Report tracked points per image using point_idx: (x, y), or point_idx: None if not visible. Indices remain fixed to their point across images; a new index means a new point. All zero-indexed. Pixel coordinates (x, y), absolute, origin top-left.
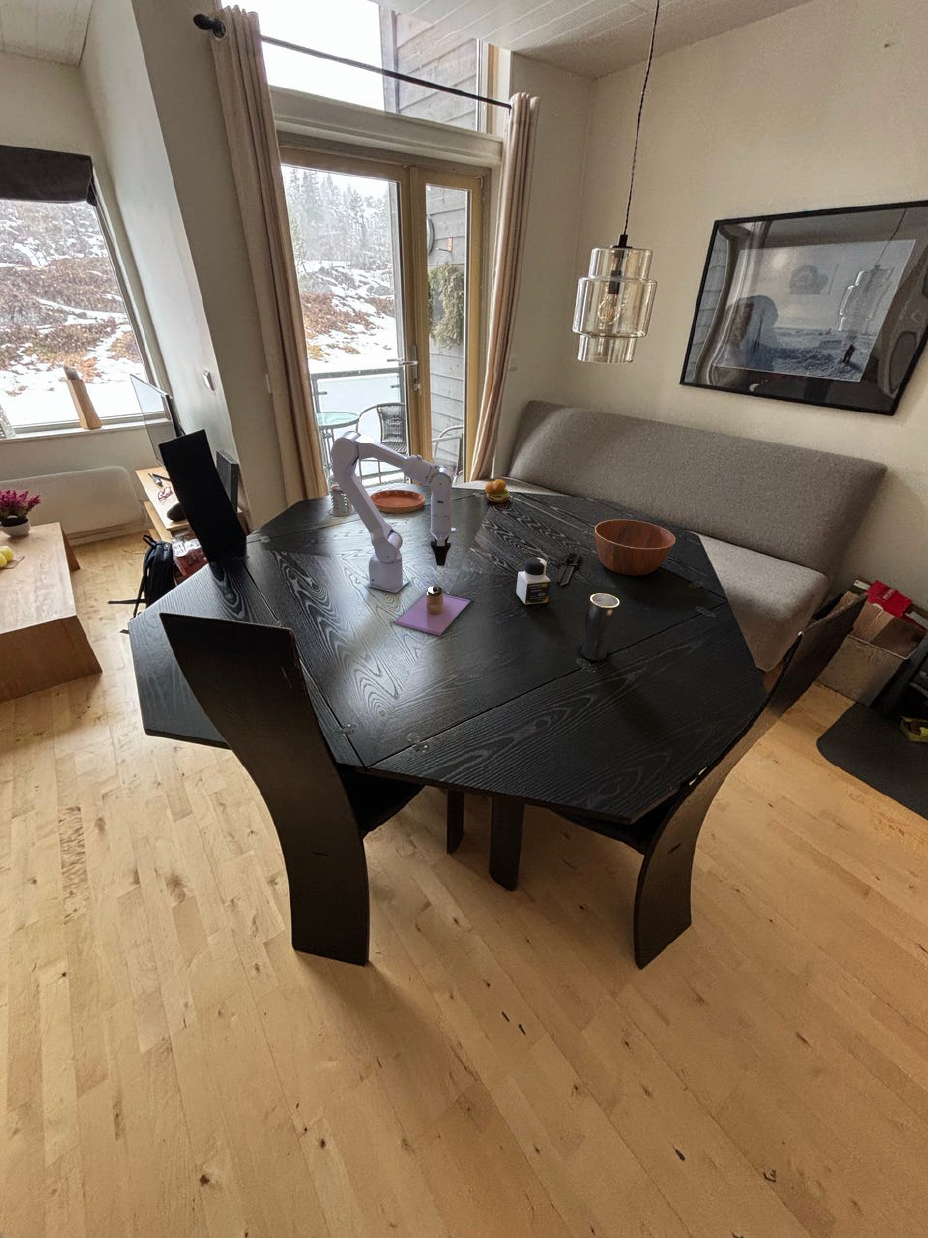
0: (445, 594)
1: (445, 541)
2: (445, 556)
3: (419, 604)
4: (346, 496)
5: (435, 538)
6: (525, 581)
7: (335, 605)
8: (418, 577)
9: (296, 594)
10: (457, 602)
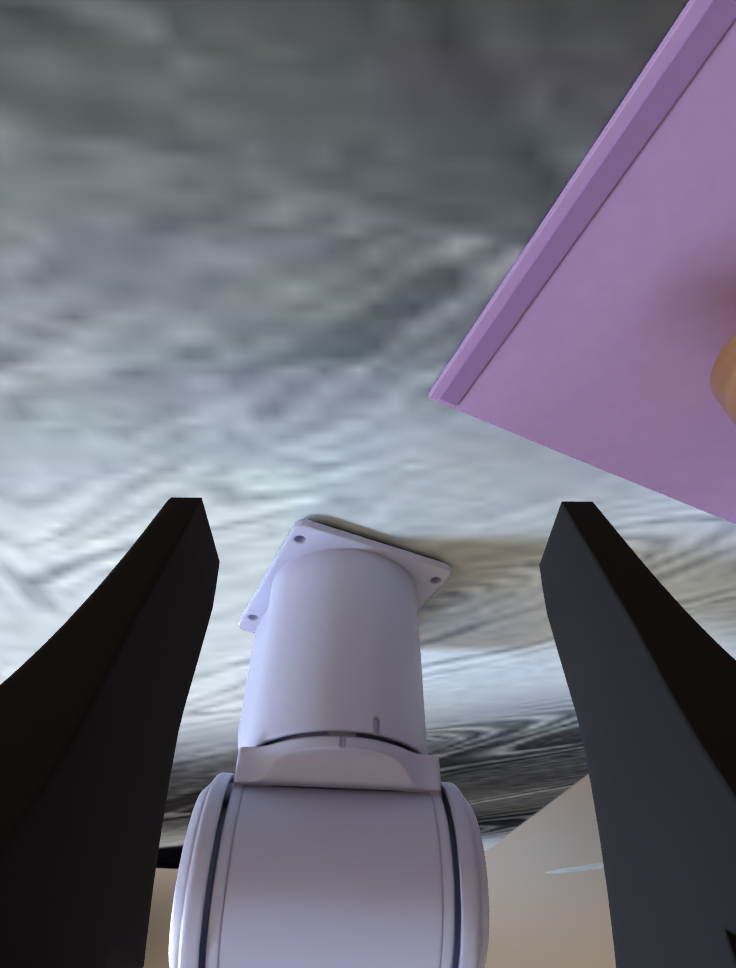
0: (516, 275)
1: (124, 689)
2: (698, 635)
3: (636, 455)
4: None
5: (156, 818)
6: None
7: (533, 708)
8: (206, 468)
9: None
10: (712, 149)
